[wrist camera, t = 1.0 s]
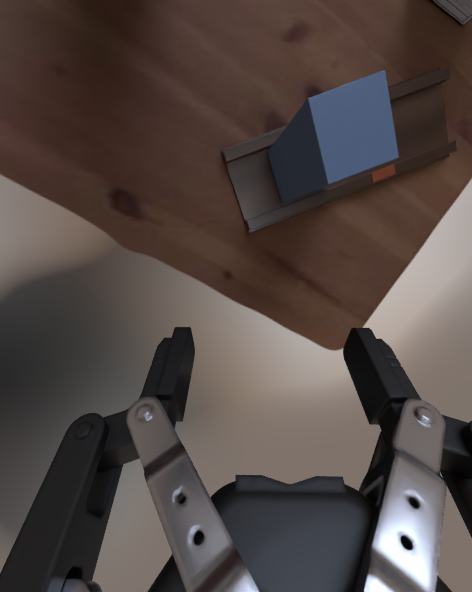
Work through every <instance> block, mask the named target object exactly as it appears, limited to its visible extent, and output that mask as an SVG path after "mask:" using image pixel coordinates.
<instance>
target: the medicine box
mask: <svg viewBox="0 0 472 592" xmlns="http://www.w3.org/2000/svg"><path fill="white" fill-rule="evenodd" d="M432 1H434V2H435V3H436V4H437V5H439V6H440V7H441V8H443V9H444V10H445V11H446V12H448V13H449V14H450V15H451V16H453V17H454V18H455V19H456V20H458V21H459V22H460V23H461V24H462V25H464V24H465V23H466V22H468V21H469V20H470V19H471V18H472V0H432Z"/></svg>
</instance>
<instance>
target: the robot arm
mask: <svg viewBox="0 0 472 592" xmlns="http://www.w3.org/2000/svg"><path fill="white" fill-rule="evenodd" d="M343 354H344V360H345V362H346V365H347V367H348V370H349V373H350V375H351V378H352V380H353V383H354V385H355V388H356V391H357V393H358V396H359V398H360V401H361V403H362V406H363V409H364V411H365V414H366V416H367V419H368V421H369V424H378V425H380V427H381V430H382V431H381V432H380V435H379V438H378V441H377V444H376V447H375V451H374V454H373V457H372V460H371V463H370V466H369V469H368V472H367V474H366V476H365V477H364V479H363V481H362V484H361V486H360V488H359V491H357V490H355V489H354V488H352V487H350V486H347V485H345V484H344V481H343V477H325V476H316V477H312V478H309V479H306V480H303V481H300V482H297V483H294V484H286V483H283V482H280V481H277V480H274V479H271V478H268V477H265V476H262V475H236V481H235V482H232V483H229V484H227V485H225V486H223V487H222V488H220V489H219V490H218V491H217V492H215V493H214V494H213V495H212V496H211V498H210V496H209V494H208V493H207V491H206V488H205V487H204V485H203V483H202V481H201V479H200V477H199V475H198V473H197V471H196V469H195V467H194V465H193V463H192V461H191V460H190V457H189V456H188V453H187V452H186V450H185V448H184V446H183V445H182V443H181V441H180V439H179V437H178V435H177V433H176V432H175V430H174V429H175V424H176V421H183V417H184V411H185V406H186V400H187V395H188V390H189V384H190V378H191V373H192V368H193V362H194V355H195V348H194V341H193V337H192V332H191V328H190V327H175V329H174V332H173V335H172V338H164V339H163V340H162V341H161V343H160V344H159V345H158V346H157V349H156V352H155V355H154V358H153V361H152V365H151V367H150V370H149V373H148V376H147V379H146V382H145V385H144V388H143V391H142V394H141V396H140V398H139V399H138V400H137V401H136V402H135V403H134V404H133V405H132V406H131V407H130V408H129V409H127V410H125V411H122V412H120V413H116V414H113V415H110V416H107V417H104V418H103V417H102V416H100V415H99V414H96V413H89V414H86V415H83V416H81V417H79V418H78V419H77V420H75V421H74V422H73V423H72V424H71V425H70V427H69V428H68V430H67V431H66V433H65V436H64V438H63V440H62V442H61V444H60V446H59V449H58V451H57V453H56V455H55V457H54V459H53V461H52V464H51V466H50V468H49V470H48V472H47V474H46V476H45V479H44V481H43V483H42V485H41V487H40V489H39V491H38V494H37V496H36V498H35V500H34V502H33V504H32V506H31V509H30V511H29V513H28V515H27V518H26V520H25V522H24V524H23V526H22V528H21V530H20V532H19V535H18V537H17V539H16V541H15V543H14V545H13V547H12V549H11V552H10V554H9V556H8V558H7V560H6V563H5V564H4V567H3V569H2V571H1V573H0V592H102V590H101V588H100V586H99V585H98V584H97V583H96V582H94V581H92V578H93V574H94V571H95V567H96V563H97V560H98V555H99V552H100V548H101V544H102V541H103V538H104V534H105V530H106V526H107V523H108V519H109V515H110V512H111V508H112V504H113V500H114V497H115V493H116V489H117V486H118V481H119V478H120V475H121V471H122V467H123V464H125V463H128V462H131V461H133V460H136V459H139V458H140V460H141V462H142V465H143V468H144V475H145V479H146V482H147V485H148V488H149V490H150V493H151V496H152V499H153V501H154V504H155V507H156V510H157V513H158V515H159V518H160V521H161V523H162V526H163V529H164V531H165V534H166V537H167V540H168V543H169V545H170V548H171V550H172V556H171V557H170V559H169V560H168V562H167V563H166V565H165V566H164V568H163V569H162V571H161V572H160V574H159V575H158V577H157V578H156V580H155V581H154V583H153V585H152V586H151V588H150V589H149V590H148V592H452V591H451V590H450V589H449V588H448V587H447V585H446V584H445V583H444V582H443V581H442V580H441V579H440V578H439V576H438V575H437V570H438V562H439V553H440V543H441V534H442V525H443V516H444V507H445V496H446V485H447V487H448V489H449V491H450V493H451V495H452V497H453V499H454V501H455V503H456V505H457V508H458V510H459V512H460V514H461V516H462V518H463V520H464V522H465V525H466V527H467V529H468V531H469V533H470V535H471V537H472V421H471V422H469V423H467V422H464V421H460V420H457V419H453V418H450V417H447V416H444V415H441V414H440V412H439V411H438V410H437V409H436V408H435V407H433V406H432V405H431V404H429V403H427V402H425V401H423V400H422V399H421V398H420V397H419V395H418V394H417V392H416V390H415V388H414V386H413V385H412V383H411V382H410V380H409V378H408V376H407V375H406V373H405V371H404V370H403V368H402V367H401V365H400V363H399V361H398V360H397V359H396V356H395V354H394V353H393V351H392V349H391V348H390V347H389V346H388V345H387V344H386V343H385V342H384V341H383V340H382V339H376V337H375V336H374V334H373V332H372V330H371V329H369V328H352V329H351V331H350V333H349V336H348V338H347V341H346V343H345V346H344V349H343ZM440 472H441V474H442V476H443V478H442V477H441V476H440Z"/></svg>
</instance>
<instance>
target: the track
mask: <svg viewBox="0 0 472 592" xmlns="http://www.w3.org/2000/svg"><path fill="white" fill-rule="evenodd" d="M449 78H450V75H449V67H446V68H443V69H441V68H439V69H436V70H433V71H431V72H428V73H425V74H423V75H420V76H417V77H415V78H412V79H409V80H407V81H404V82H401V83H399V84H396V85H393V86H391V87H388V91H389V98H390V104H391V110H392V117H393V123H394V130H395V136H396V142H397V149H398V155H399V158H397V159H394V160H392V161H389V162H387V163H384V164H382V165H379V166H377V167H374V168H372V169H369V170H366V171H364V172H361V173H359V174H356V175H354V176H351V177H349V178H346V179H344V180H341V181H339V182H336V183H333V184H331V185H328V186H326V187H323V188H321V189H318V190H315V191H313V192H310V193H307V194H305V195H302V196H300V197H297V198H294V199H292V200H289V201H287V202H284V203H282V201H281V198H280V194H279V191H278V188H277V184H276V181H275V177H274V174H273V171H272V167H271V164H270V160H269V157H268V153H267V152H268V151H269V149H270V148H271V147H272V145H273V144H274V143H275V141H276V140H277V139H278V137H279V136H280V135H281V134H282V132H283V131H284V130H285V128H286V127H287V126H288V125H287V126H284V127H281V128H279V129H276V130H273V131H271V132H268V133H265V134H263V135H260V136H257V137H255V138H252V139H249V140H247V141H244V142H241V143H239V144H236V145H233V146H231V147H228V148H225V149H222V150H221V152H222V155H223V158H224V161H225V164H226V167H227V170H228V173H229V176H230V179H231V182H232V185H233V188H234V191H235V194H236V196H237V199H238V202H239V205H240V208H241V211H242V214H243V217H244V220H245V223H246V226H247V229H248V232H249V233H251V232H254V231H256V230H259V229H262V228H264V227H267V226H269V225H272V224H275V223H277V222H280V221H283V220H285V219H288V218H290V217H293V216H296V215H298V214H301V213H303V212H306V211H309V210H311V209H314V208H316V207H319V206H322V205H324V204H327V203H329V202H332V201H335V200H337V199H340V198H342V197H345V196H348V195H350V194H353V193H355V192H358V191H361V190H363V189H366V188H368V187H371V186H374V185H376V184H379V183H381V182H384V181H387V180H389V179H392V178H394V177H397V176H400V175H402V174H405V173H407V172H410V171H413V170H415V169H418V168H420V167H423V166H426V165H428V164H431V163H433V162H436V161H439V160H441V159H444V158H446V157H449V156H450V155H449V153H452V152H454V151H456V150H457V148H456V141H453V142H450V143H448V136H447V126H446V117H445V107H444V97H443V88H442V83H443V82H444V81H446V80H447V79H449Z"/></svg>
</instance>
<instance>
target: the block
mask: <svg viewBox="0 0 472 592" xmlns="http://www.w3.org/2000/svg"><path fill="white" fill-rule="evenodd" d="M267 153H268V157H269V160H270V164H271V167H272V171H273V174H274V177H275V181H276V184H277V188H278V191H279V194H280V198H281V201H282V203H284V202H287V201H289V200H292V199H294V198H297V197H300V196H302V195H305V194H307V193H310V192H313V191H315V190H318V189H321V188H323V187H326V186H328V185H331V184H333V183H336V182H339V181H341V180H344V179H346V178H349V177H351V176H354V175H356V174H359V173H361V172H364V171H366V170H369V169H372V168H374V167H377V166H379V165H382V164H384V163H387V162H389V161H392V160H394V159H397V158H399V155H398V149H397V142H396V136H395V130H394V123H393V117H392V110H391V104H390V98H389V91H388V85H387V79H386V72H385V70H383V71H380V72H378V73H375V74H372V75H369V76H367V77H364V78H361V79H359V80H356V81H353V82H351V83H348V84H345V85H343V86H340V87H337V88H335V89H332V90H329V91H327V92H324V93H321V94H319V95H316V96H313V97H310V98H308V99H307V101H306V102H305V103H304V104H303V106H302V107H301V108H300V110H299V111H298V112H297V114H296V115H295V116H294V118H293V119H292V120H291V122H290V123H289V124H288V126H287V127H286V128H285V130H284V131H283V132H282V134H281V135H280V136H279V137H278V139H277V140H276V141H275V143H274V144H273V145H272V147H271V148H270V149H269V151H268V152H267Z"/></svg>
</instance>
